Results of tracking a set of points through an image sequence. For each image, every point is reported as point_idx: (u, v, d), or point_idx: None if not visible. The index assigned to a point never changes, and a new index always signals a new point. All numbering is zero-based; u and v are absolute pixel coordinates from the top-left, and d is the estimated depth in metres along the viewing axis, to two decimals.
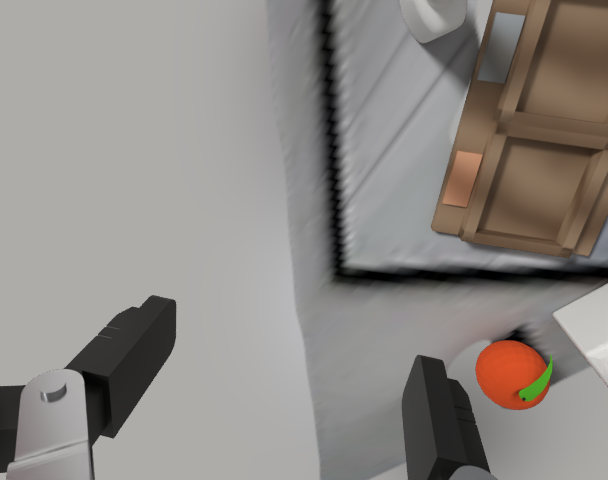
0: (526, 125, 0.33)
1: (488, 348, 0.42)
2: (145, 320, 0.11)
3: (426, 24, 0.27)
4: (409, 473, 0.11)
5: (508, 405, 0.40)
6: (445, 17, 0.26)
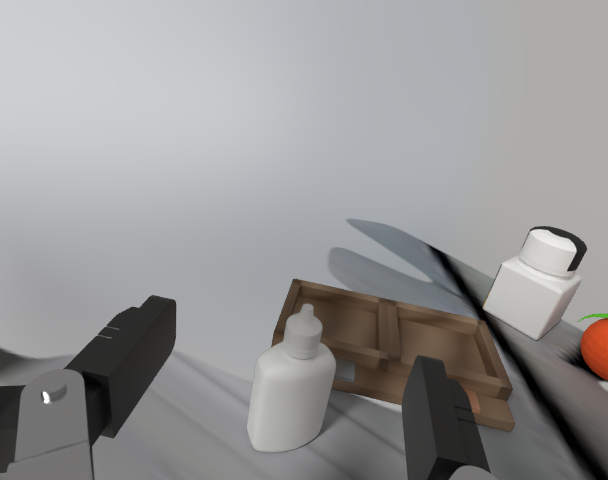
0: (389, 343, 0.38)
1: None
2: (145, 320, 0.11)
3: (327, 370, 0.27)
4: (409, 473, 0.11)
5: None
6: (324, 351, 0.28)
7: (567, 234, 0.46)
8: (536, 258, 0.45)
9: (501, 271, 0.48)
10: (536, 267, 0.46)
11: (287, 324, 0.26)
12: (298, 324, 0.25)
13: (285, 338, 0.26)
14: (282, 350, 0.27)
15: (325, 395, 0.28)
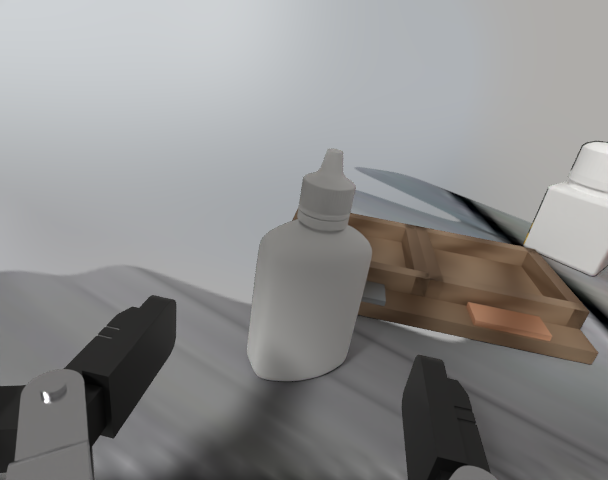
0: (425, 264, 0.30)
1: None
2: (145, 320, 0.11)
3: (361, 254, 0.19)
4: (409, 473, 0.11)
5: None
6: (355, 231, 0.20)
7: None
8: (593, 174, 0.38)
9: (548, 196, 0.40)
10: (593, 186, 0.38)
11: (305, 179, 0.18)
12: (320, 176, 0.17)
13: (302, 202, 0.18)
14: (297, 224, 0.19)
15: (356, 297, 0.20)
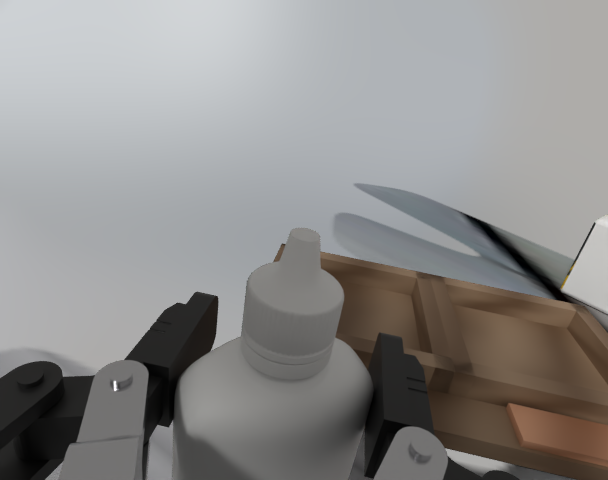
0: (446, 342, 0.22)
1: None
2: (194, 315, 0.12)
3: (355, 405, 0.11)
4: (366, 440, 0.11)
5: None
6: (345, 356, 0.11)
7: None
8: None
9: (595, 233, 0.32)
10: None
11: (249, 285, 0.09)
12: (278, 283, 0.09)
13: (245, 324, 0.10)
14: (240, 356, 0.10)
15: (347, 461, 0.12)
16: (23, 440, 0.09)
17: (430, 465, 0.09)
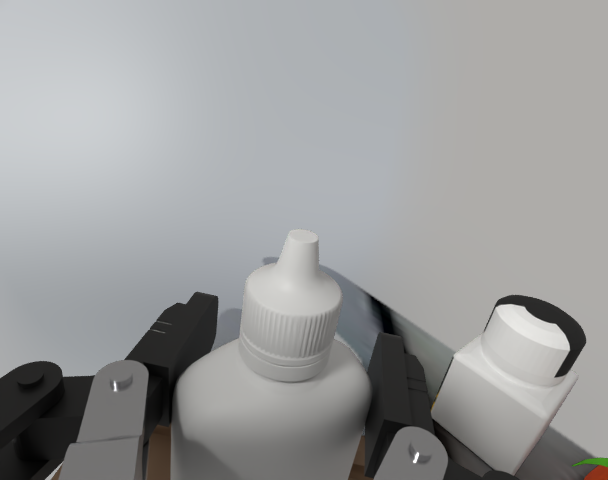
0: None
1: None
2: (194, 315, 0.12)
3: (354, 407, 0.11)
4: (366, 440, 0.11)
5: None
6: (344, 358, 0.11)
7: (554, 313, 0.29)
8: (505, 354, 0.28)
9: (453, 366, 0.31)
10: (506, 368, 0.28)
11: (247, 286, 0.09)
12: (276, 285, 0.09)
13: (243, 325, 0.10)
14: (238, 358, 0.10)
15: (346, 463, 0.12)
16: (23, 440, 0.09)
17: (430, 465, 0.09)
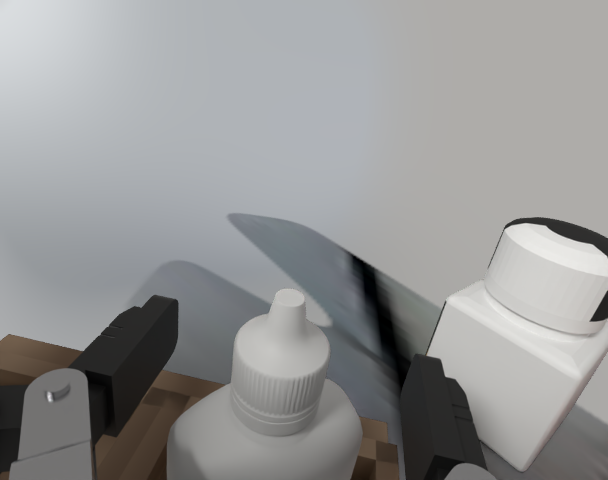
0: None
1: None
2: (148, 320, 0.11)
3: (344, 452, 0.11)
4: (407, 471, 0.11)
5: None
6: (334, 401, 0.12)
7: (588, 234, 0.20)
8: (517, 290, 0.20)
9: (446, 315, 0.22)
10: (519, 310, 0.20)
11: (236, 345, 0.10)
12: (263, 345, 0.09)
13: (233, 381, 0.10)
14: (229, 408, 0.11)
15: None
16: None
17: None
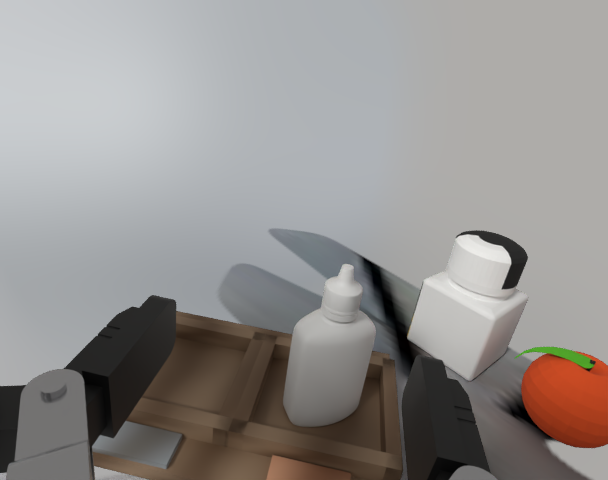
0: (238, 403, 0.27)
1: (557, 431, 0.29)
2: (145, 320, 0.11)
3: (368, 335, 0.26)
4: (409, 473, 0.11)
5: None
6: (363, 316, 0.27)
7: (503, 240, 0.35)
8: (462, 273, 0.34)
9: (423, 290, 0.37)
10: (463, 285, 0.35)
11: (326, 286, 0.25)
12: (338, 285, 0.24)
13: (324, 301, 0.25)
14: (321, 315, 0.26)
15: (365, 364, 0.27)
16: None
17: None
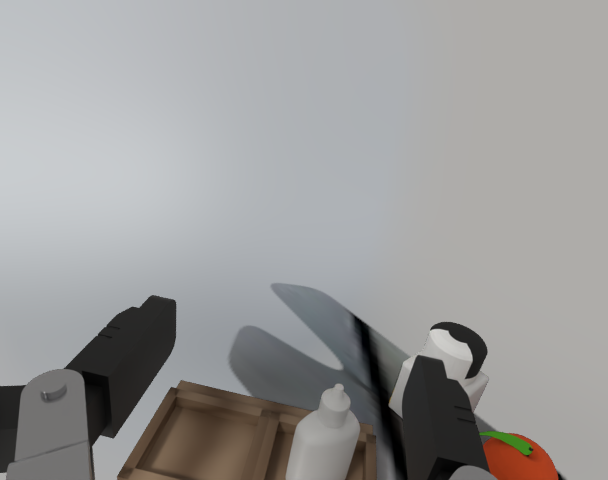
0: None
1: None
2: (145, 320, 0.11)
3: (354, 434, 0.33)
4: (409, 473, 0.11)
5: (550, 465, 0.36)
6: (350, 417, 0.34)
7: (468, 335, 0.42)
8: None
9: (402, 371, 0.45)
10: None
11: (322, 400, 0.32)
12: (331, 401, 0.32)
13: (320, 411, 0.32)
14: (317, 419, 0.33)
15: (351, 452, 0.35)
16: None
17: None
